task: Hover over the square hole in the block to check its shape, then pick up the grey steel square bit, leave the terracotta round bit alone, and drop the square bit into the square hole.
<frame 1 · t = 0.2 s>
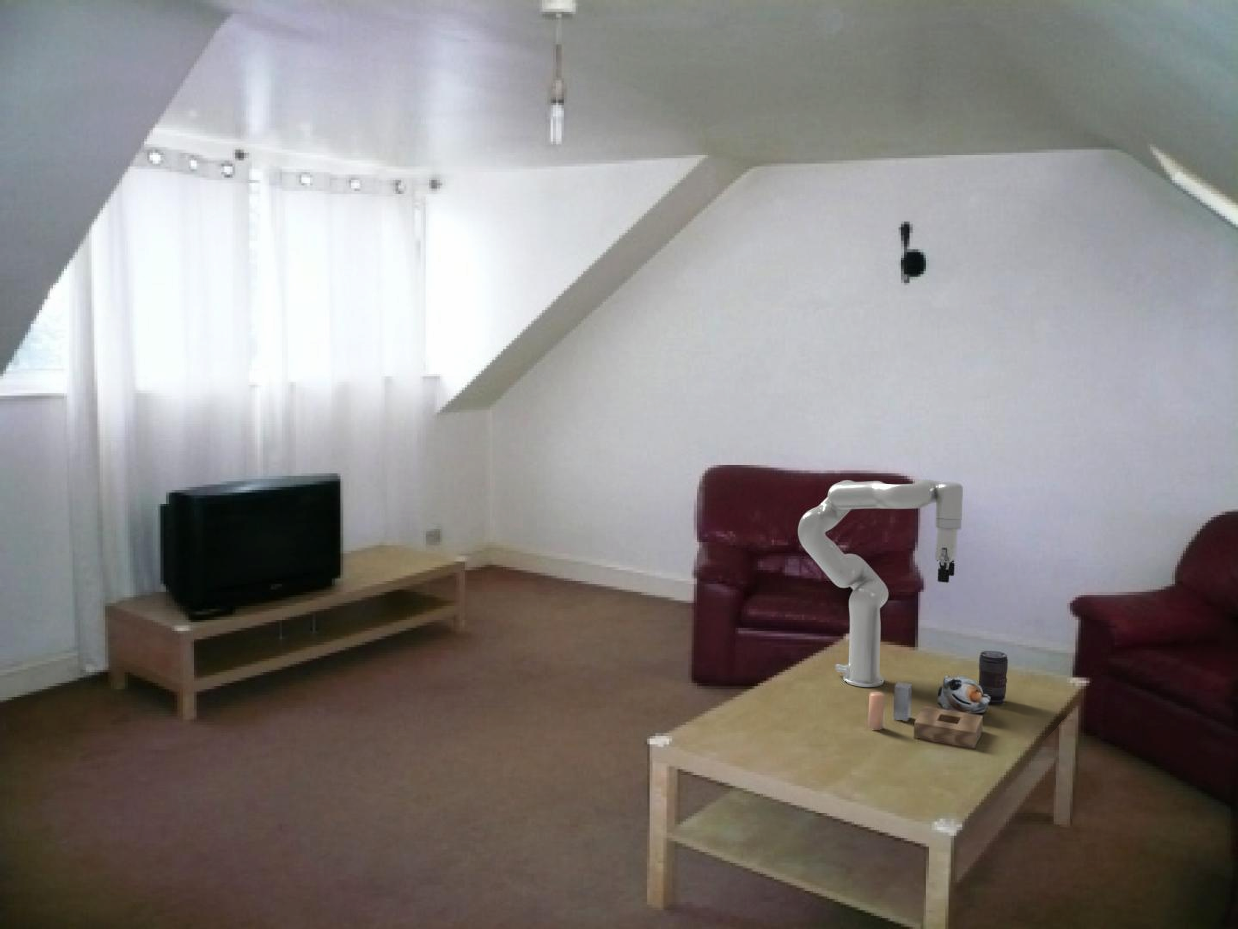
hand: (945, 578, 314), 37 cm above the table, tool pointing down, fingers open, 9 cm apart
square bit: (901, 718, 298), on the table
round bit: (875, 728, 291), on the table
bore block: (948, 734, 286), on the table
camera lens: (991, 702, 312), on the table
lucky cat figurine: (964, 713, 304), on the table
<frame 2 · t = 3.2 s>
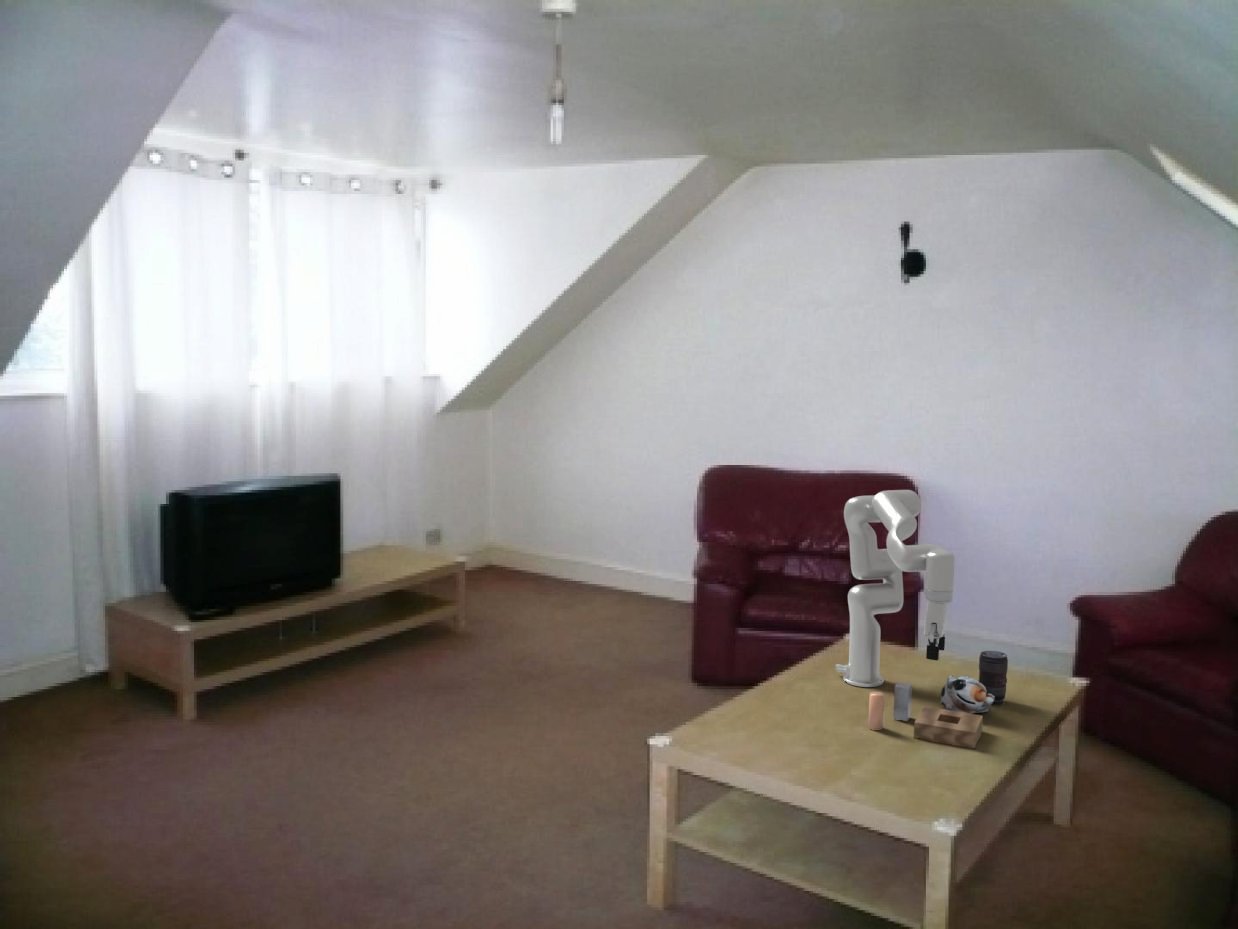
hand: (935, 654, 288), 22 cm above the table, tool pointing down, fingers open, 9 cm apart
lucky cat figurine: (967, 712, 304), on the table
everything else where it was.
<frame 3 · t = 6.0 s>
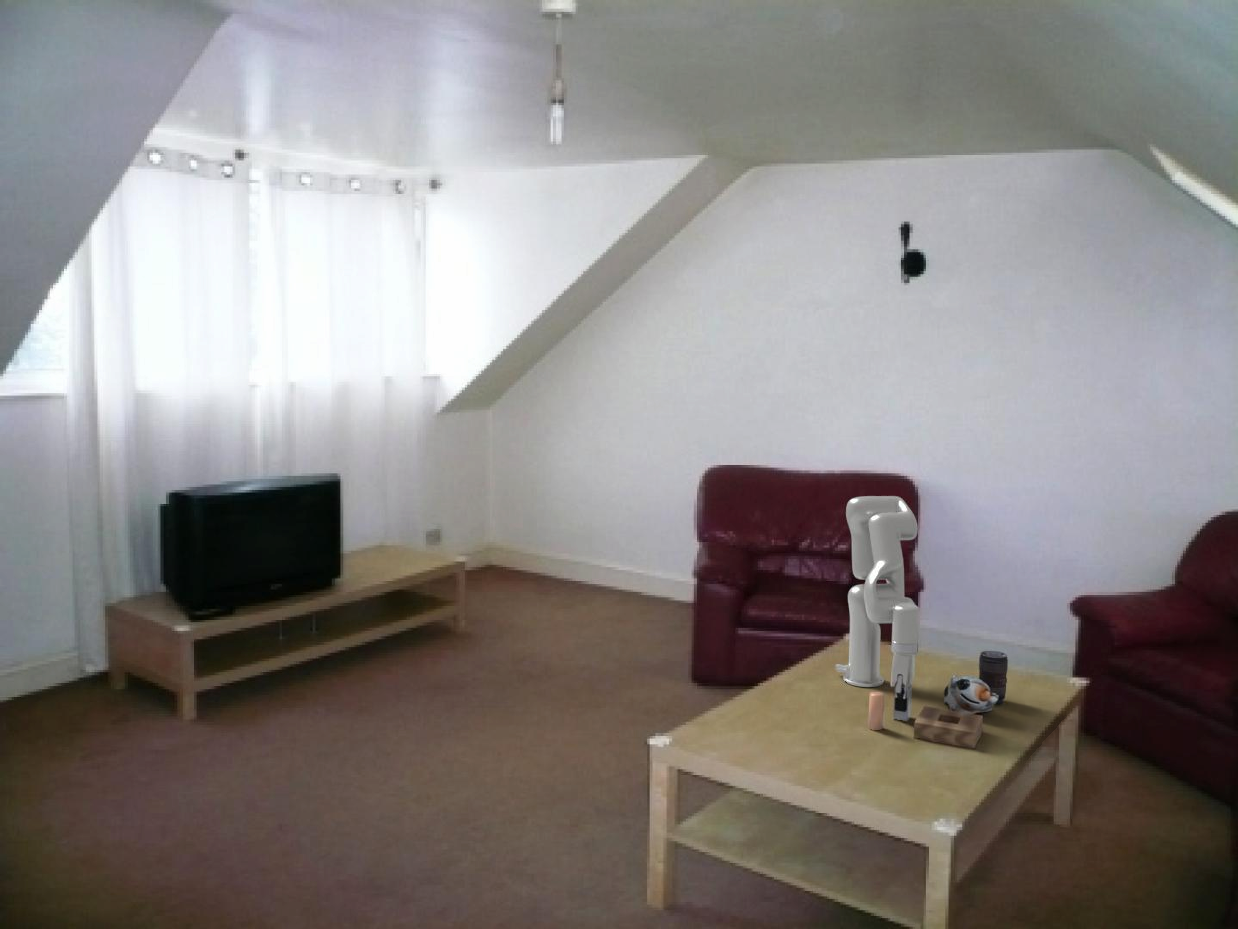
hand: (902, 707, 298), 3 cm above the table, tool pointing down, fingers closed on square bit, 4 cm apart
square bit: (901, 718, 298), on the table, touching gripper
lucky cat figurine: (970, 712, 304), on the table
everything else where it was.
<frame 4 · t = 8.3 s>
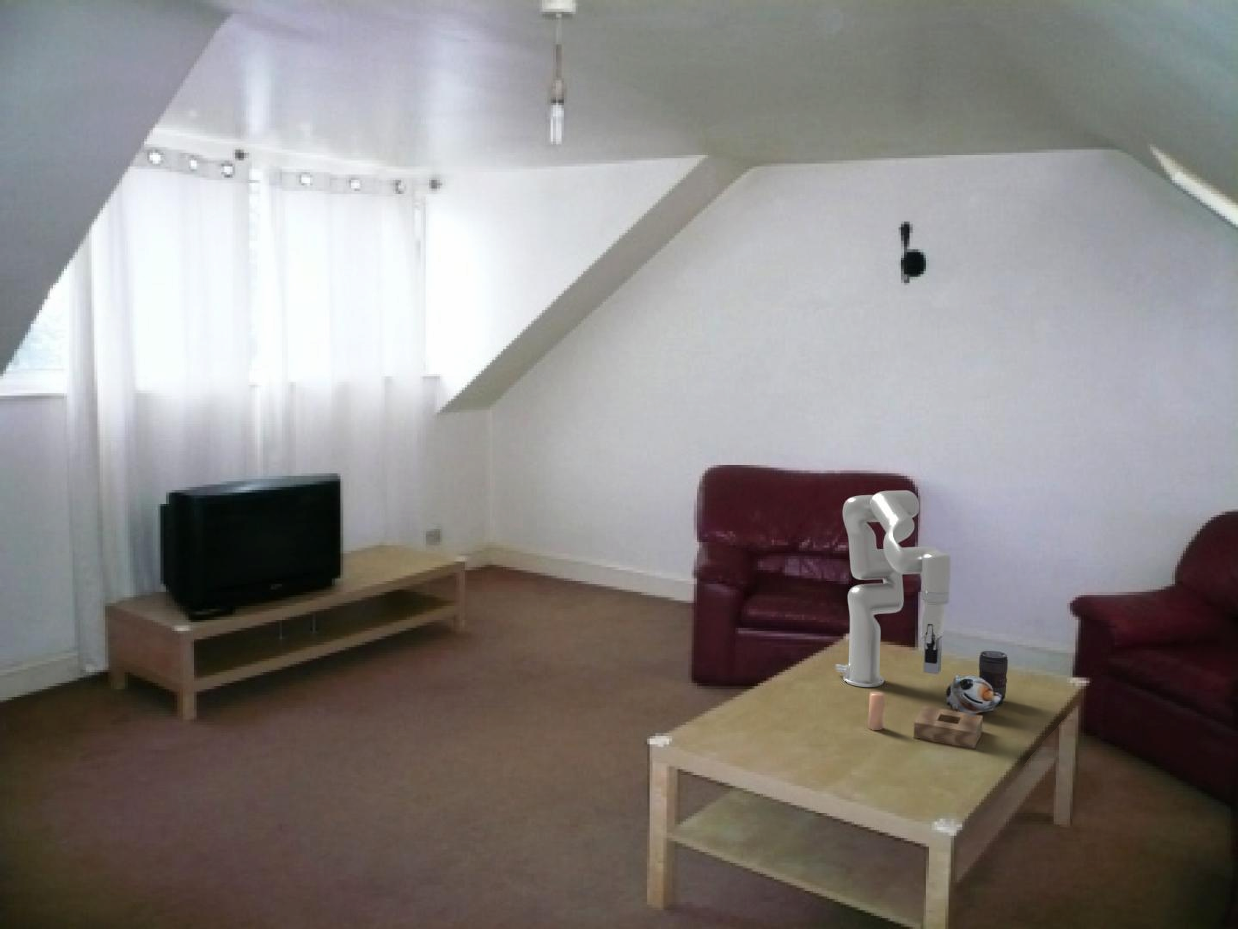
hand: (932, 660, 288), 20 cm above the table, tool pointing down, fingers closed on square bit, 4 cm apart
square bit: (932, 671, 289), point 17 cm above the table, touching gripper
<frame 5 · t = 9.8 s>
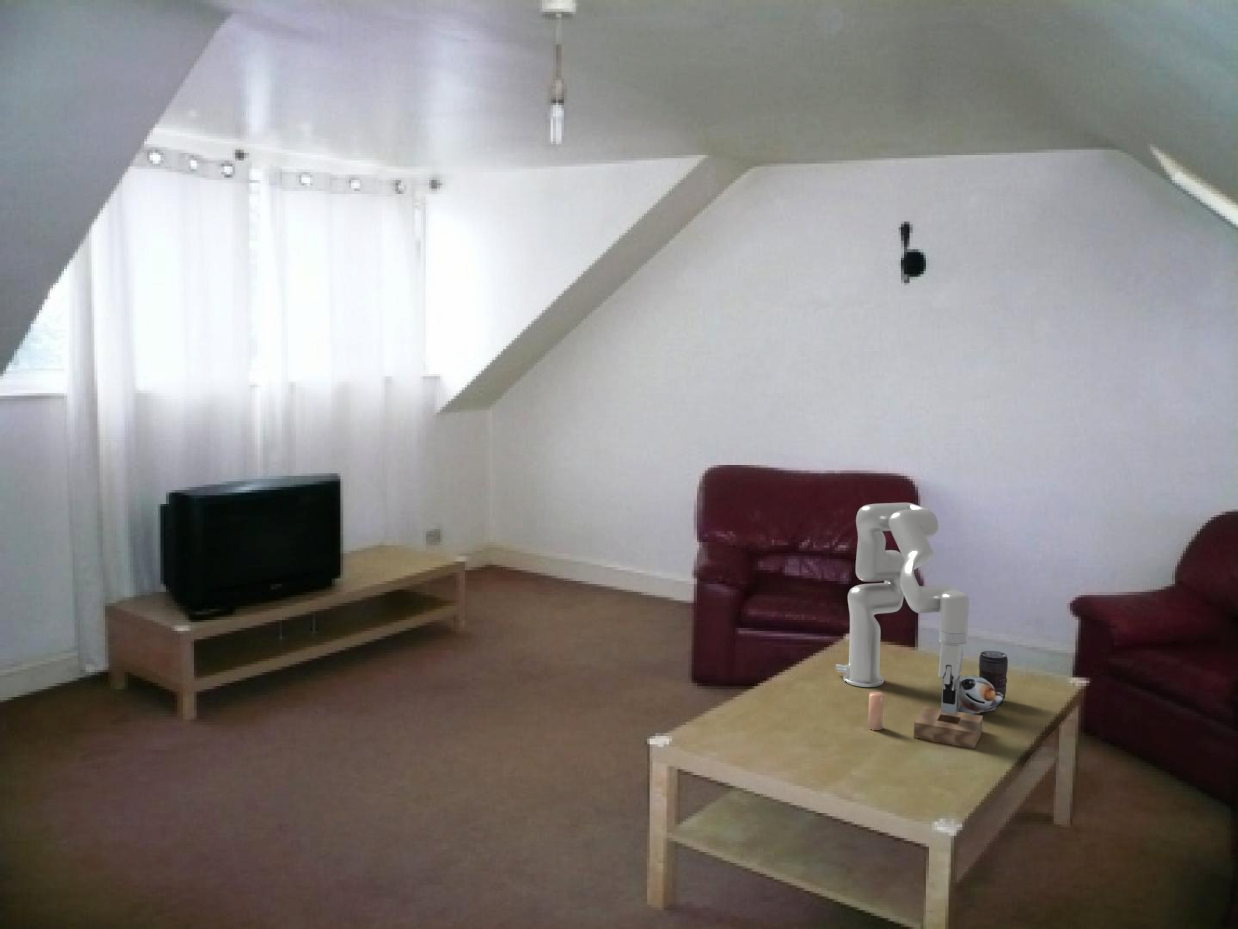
hand: (950, 700, 285), 10 cm above the table, tool pointing down, fingers closed on square bit, 4 cm apart
square bit: (949, 711, 285), point 7 cm above the table, touching gripper
when the fingers open (6 cm above the table, at t = 11.0 s): square bit drops 2 cm, resting in bore block.
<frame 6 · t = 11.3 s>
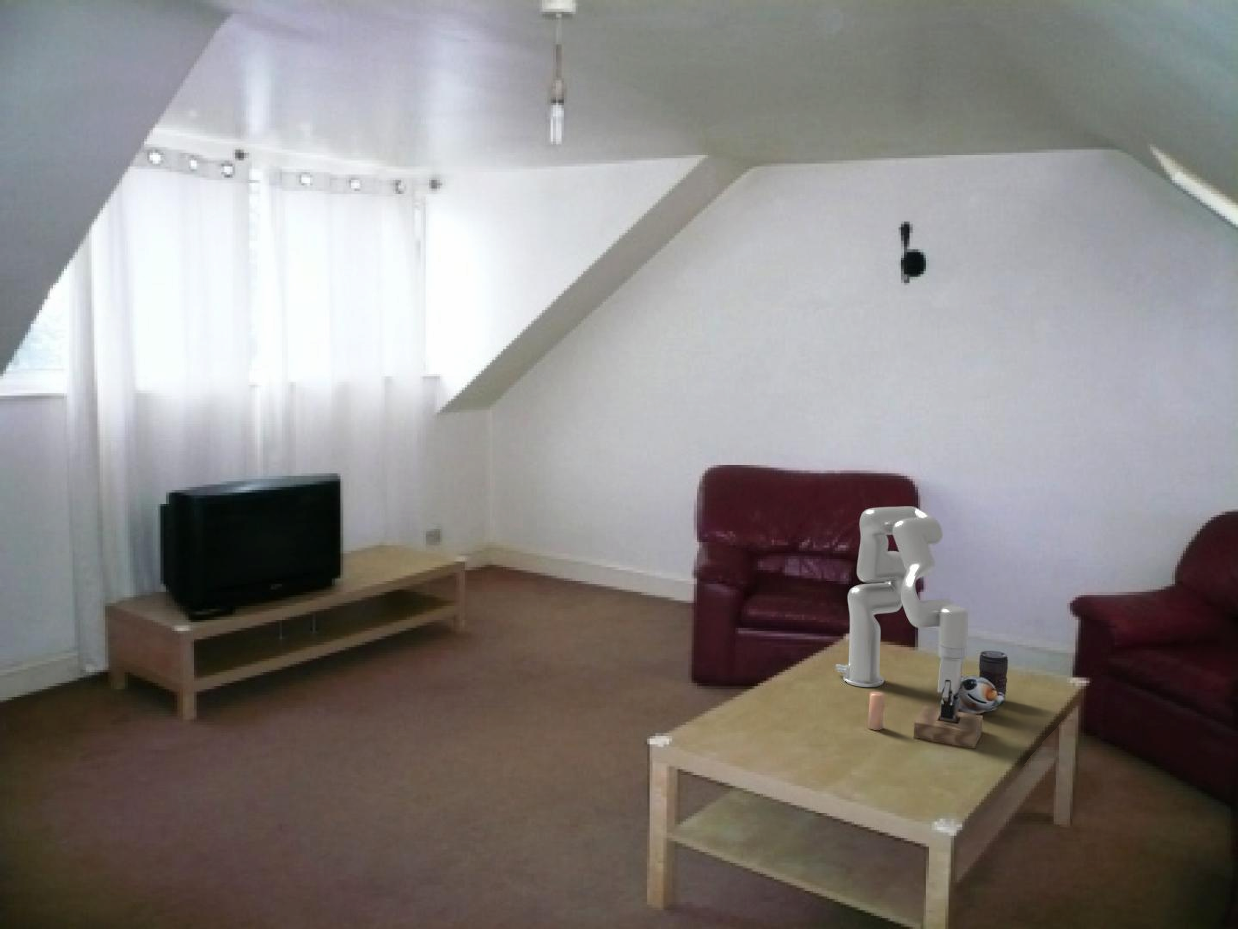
hand: (949, 713, 286), 6 cm above the table, tool pointing down, fingers open, 6 cm apart
square bit: (948, 734, 287), resting in bore block
camera lens: (991, 702, 312), on the table, touching lucky cat figurine
lucky cat figurine: (975, 711, 305), on the table, touching camera lens
everything else where it was.
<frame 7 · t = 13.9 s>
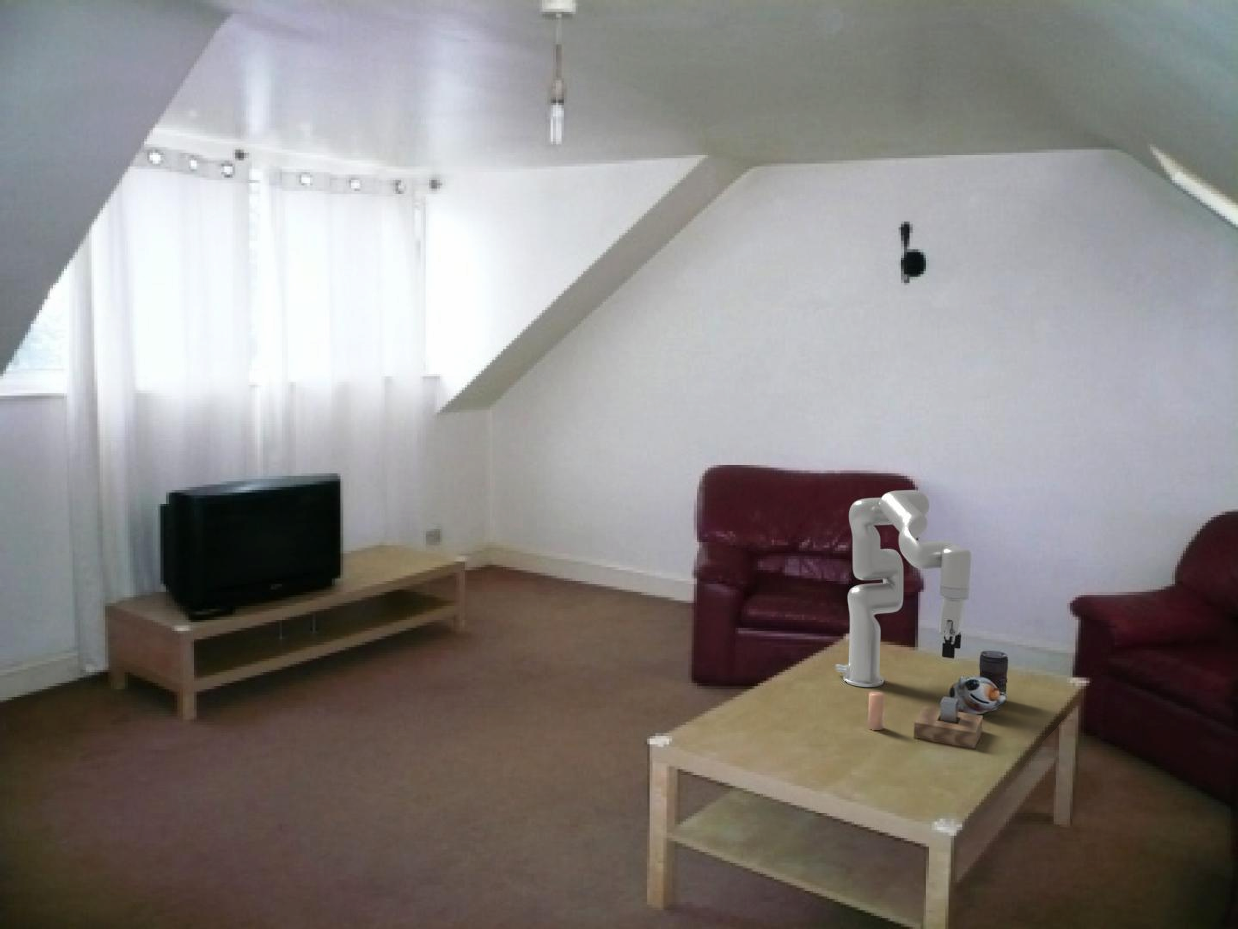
hand: (951, 652, 284), 23 cm above the table, tool pointing down, fingers open, 9 cm apart
camera lens: (991, 702, 313), on the table
lucky cat figurine: (977, 711, 305), on the table
everything else where it was.
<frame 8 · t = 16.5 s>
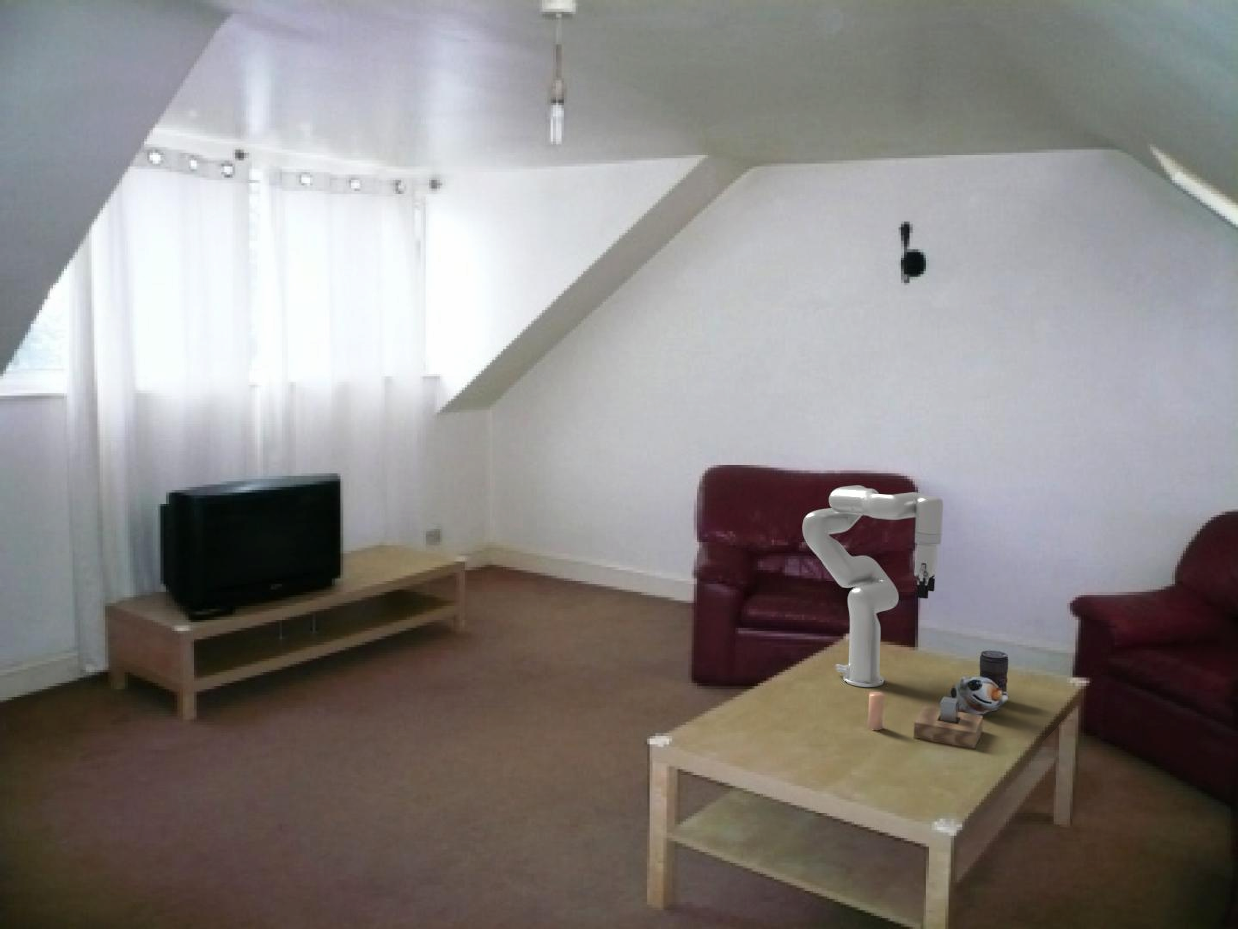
hand: (925, 594, 308), 33 cm above the table, tool pointing down, fingers open, 9 cm apart
camera lens: (991, 702, 313), on the table, touching lucky cat figurine
lucky cat figurine: (978, 712, 305), on the table, touching camera lens
everything else where it was.
at the end: square bit 0.1 cm off-centre on the bore block, point 0.0 cm above the bore block's base; square bit tilted 0°; round bit moved 0.0 cm from its start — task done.
